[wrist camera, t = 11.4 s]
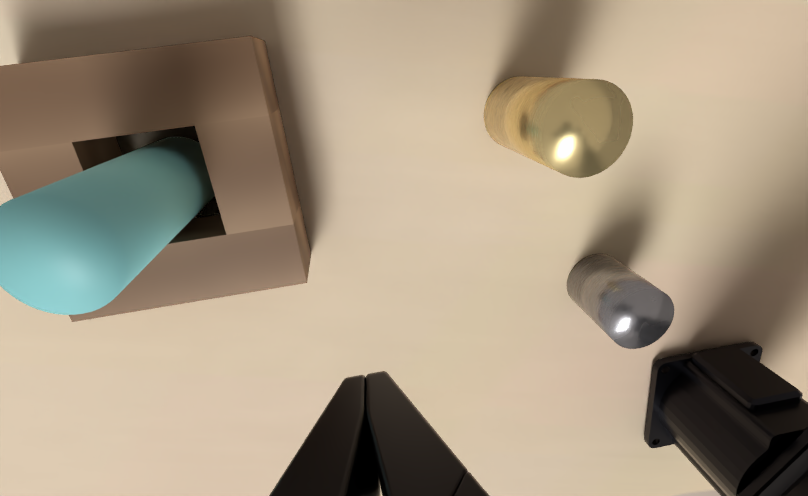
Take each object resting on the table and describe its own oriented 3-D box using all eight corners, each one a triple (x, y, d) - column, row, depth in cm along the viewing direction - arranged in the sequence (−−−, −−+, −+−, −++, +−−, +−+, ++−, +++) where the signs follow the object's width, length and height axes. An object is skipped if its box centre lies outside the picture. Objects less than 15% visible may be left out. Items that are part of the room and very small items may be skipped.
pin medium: (549, 142, 20) (629, 170, 15) (485, 152, 20) (541, 183, 14) (550, 72, 19) (636, 73, 14) (482, 81, 19) (542, 86, 13)
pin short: (619, 300, 24) (670, 342, 20) (566, 310, 24) (607, 354, 20) (623, 249, 23) (677, 284, 19) (567, 259, 23) (611, 296, 19)
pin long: (228, 202, 19) (145, 303, 11) (157, 213, 19) (17, 324, 11) (209, 131, 18) (99, 185, 10) (132, 142, 18) (-46, 205, 10)
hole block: (310, 254, 21) (306, 282, 18) (108, 286, 20) (71, 321, 17) (264, 40, 17) (250, 35, 14) (17, 70, 16) (-47, 71, 14)
